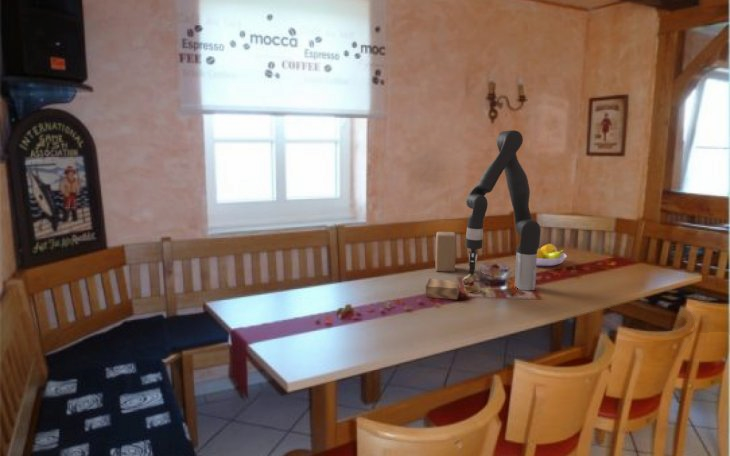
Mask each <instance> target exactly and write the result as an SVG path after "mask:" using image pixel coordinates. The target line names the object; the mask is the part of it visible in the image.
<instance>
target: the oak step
mask: <svg viewBox="0 0 730 456" xmlns="http://www.w3.org/2000/svg"><path fill="white" fill-rule="evenodd" d="M459 291H460V280H448V279H447V280H446V279H435V278H434V279H433V278H431V277H430V278H428V280H427V282H426V285H425V298H435V299H445V300H446V299H449V300H458V297H459Z"/></svg>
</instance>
